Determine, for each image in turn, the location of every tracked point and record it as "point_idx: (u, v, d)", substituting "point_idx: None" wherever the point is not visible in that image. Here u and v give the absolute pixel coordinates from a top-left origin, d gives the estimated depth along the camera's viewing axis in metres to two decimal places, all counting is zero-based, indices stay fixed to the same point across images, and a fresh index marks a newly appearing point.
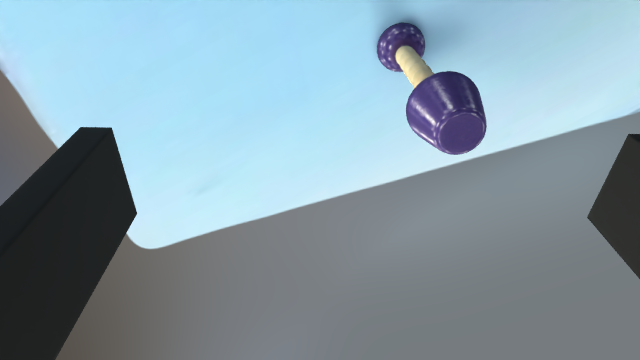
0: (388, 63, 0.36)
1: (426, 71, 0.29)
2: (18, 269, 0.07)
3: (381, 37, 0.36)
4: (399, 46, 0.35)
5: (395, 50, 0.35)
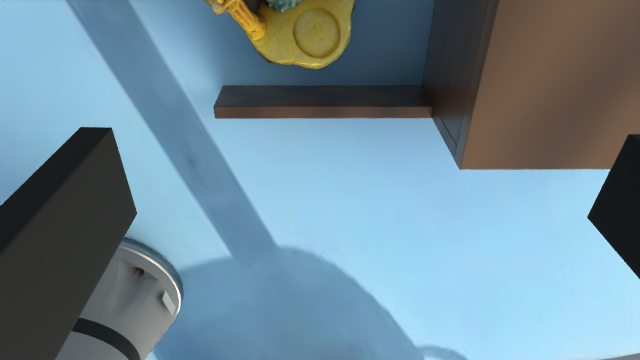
0: None
1: None
2: (18, 269, 0.07)
3: None
4: None
5: None
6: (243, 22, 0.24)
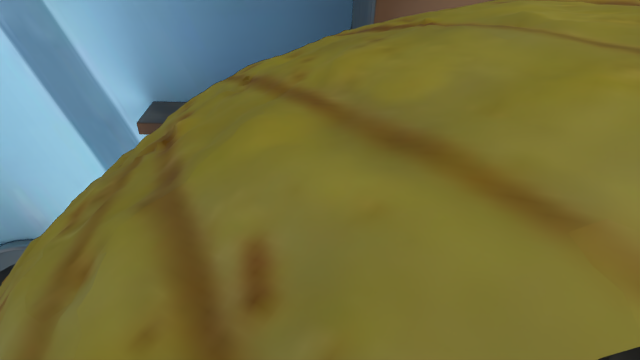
0: None
1: None
2: None
3: None
4: None
5: None
6: None
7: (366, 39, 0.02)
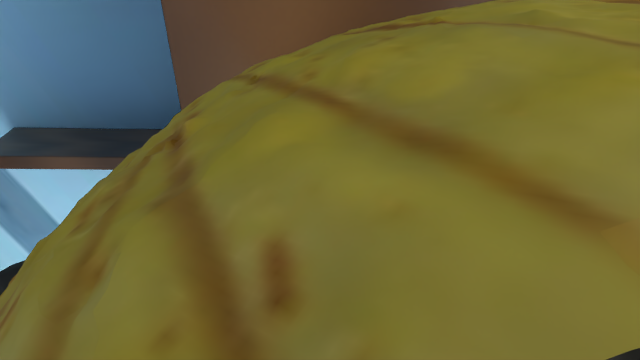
0: None
1: None
2: None
3: None
4: None
5: None
6: None
7: (376, 37, 0.02)
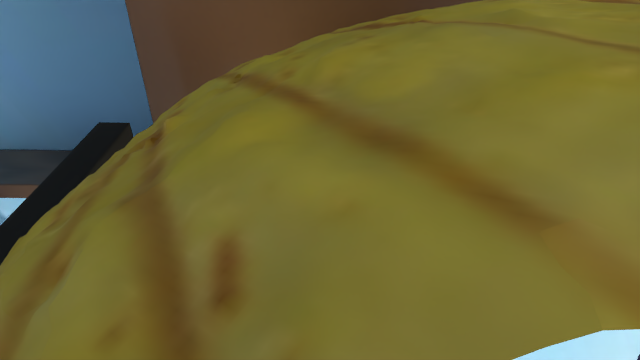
0: None
1: None
2: None
3: None
4: None
5: None
6: None
7: (355, 36, 0.02)
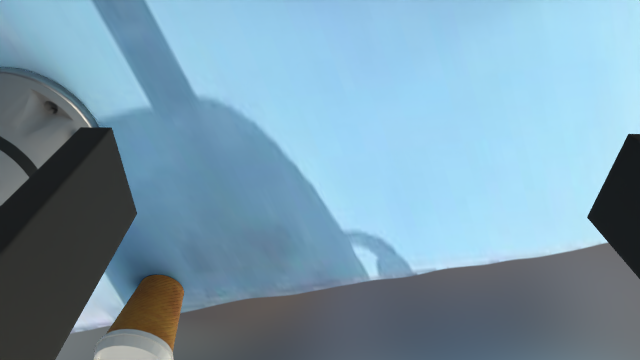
0: None
1: None
2: (18, 269, 0.07)
3: None
4: None
5: None
6: None
7: None
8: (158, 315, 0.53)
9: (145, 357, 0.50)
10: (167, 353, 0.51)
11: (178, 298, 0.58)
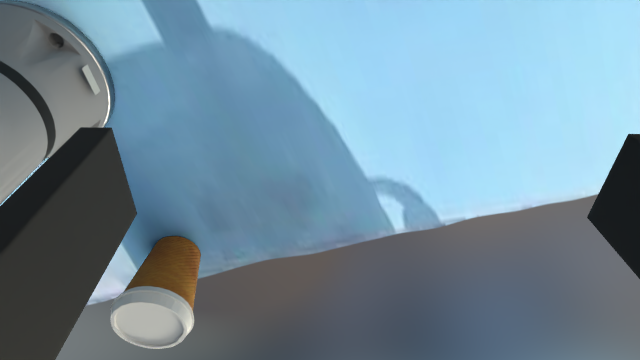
0: None
1: None
2: (18, 269, 0.07)
3: None
4: None
5: None
6: None
7: None
8: (176, 274, 0.50)
9: (165, 316, 0.47)
10: (187, 311, 0.48)
11: (195, 259, 0.55)
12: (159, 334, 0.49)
